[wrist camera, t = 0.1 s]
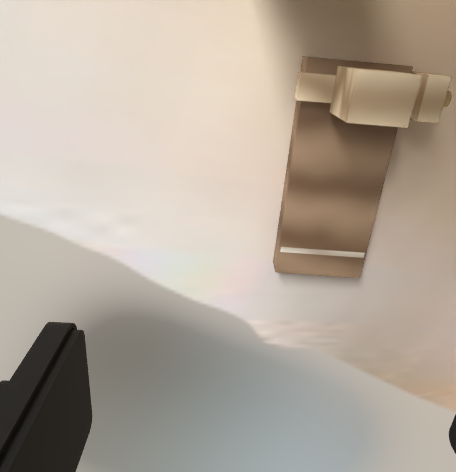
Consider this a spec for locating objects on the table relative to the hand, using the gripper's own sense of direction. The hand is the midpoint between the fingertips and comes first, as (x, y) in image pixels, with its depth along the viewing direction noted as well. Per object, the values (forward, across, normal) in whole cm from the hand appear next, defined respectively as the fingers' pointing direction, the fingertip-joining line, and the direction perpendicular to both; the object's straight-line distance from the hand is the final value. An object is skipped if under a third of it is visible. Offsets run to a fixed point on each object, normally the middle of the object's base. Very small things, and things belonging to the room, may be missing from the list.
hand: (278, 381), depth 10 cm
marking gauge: (+36, -12, -4) cm, 38 cm away
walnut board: (+37, -11, +5) cm, 38 cm away
